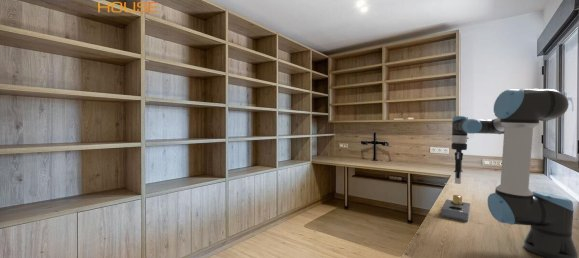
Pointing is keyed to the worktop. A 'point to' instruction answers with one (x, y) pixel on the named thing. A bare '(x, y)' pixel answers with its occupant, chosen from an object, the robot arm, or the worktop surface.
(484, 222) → the worktop surface
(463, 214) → the block
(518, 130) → the robot arm
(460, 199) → the brass sleeve
